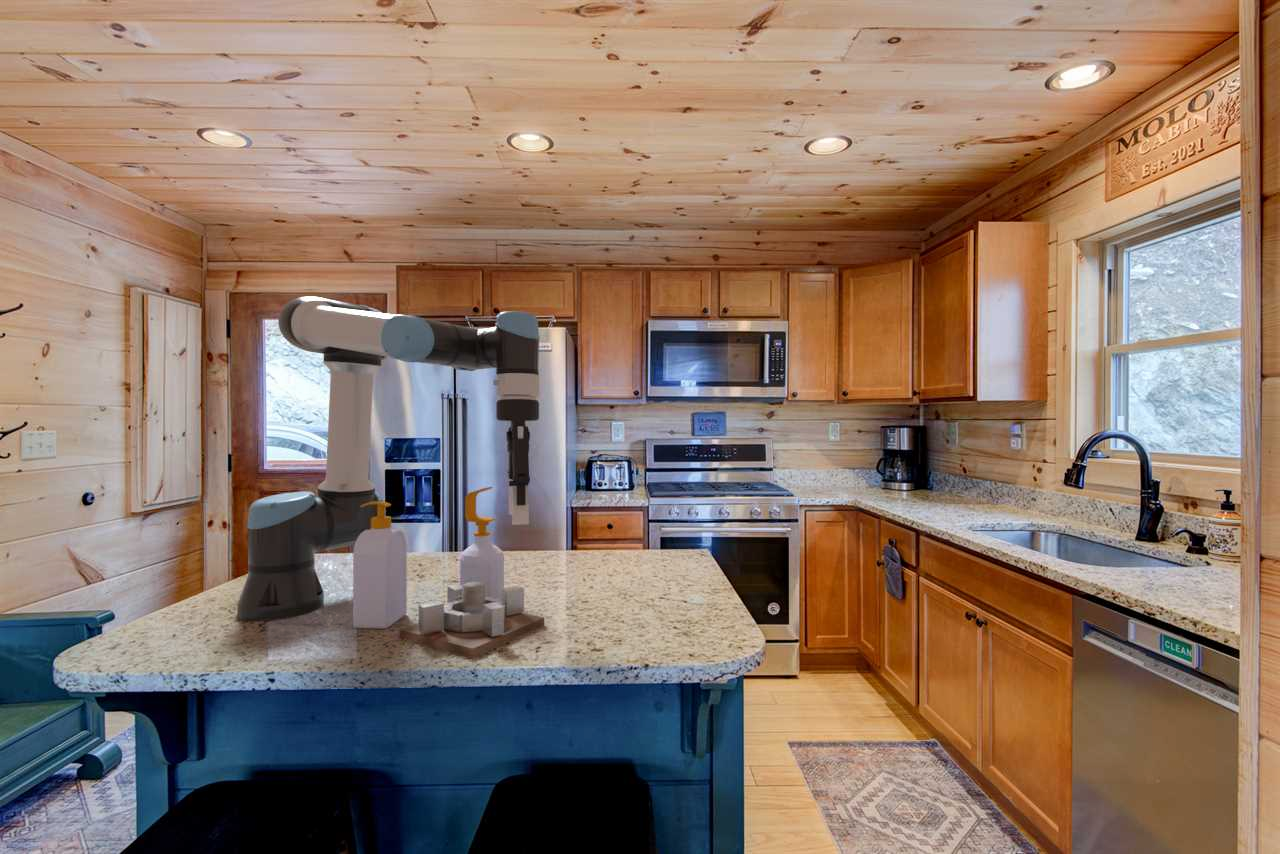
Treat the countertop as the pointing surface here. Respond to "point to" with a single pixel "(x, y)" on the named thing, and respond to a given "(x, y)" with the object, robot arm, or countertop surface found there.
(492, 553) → the soap bottle
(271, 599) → the robot arm
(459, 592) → the ring nut
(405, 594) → the soap bottle
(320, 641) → the countertop surface
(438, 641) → the hub
